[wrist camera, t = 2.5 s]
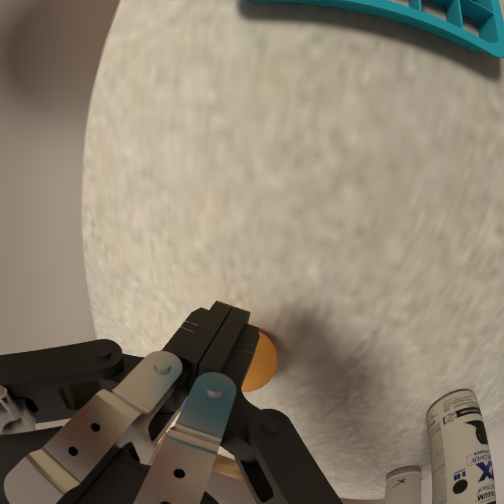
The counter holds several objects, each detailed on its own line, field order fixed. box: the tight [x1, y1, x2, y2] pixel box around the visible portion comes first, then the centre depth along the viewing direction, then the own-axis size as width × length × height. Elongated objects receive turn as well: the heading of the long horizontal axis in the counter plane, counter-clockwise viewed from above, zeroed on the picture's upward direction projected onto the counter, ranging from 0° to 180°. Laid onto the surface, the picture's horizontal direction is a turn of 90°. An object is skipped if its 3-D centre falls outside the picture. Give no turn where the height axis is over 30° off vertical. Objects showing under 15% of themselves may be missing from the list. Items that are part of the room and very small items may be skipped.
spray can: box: [427, 389, 496, 504], centre depth 12 cm, size 7×7×20 cm
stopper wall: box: [159, 433, 246, 482], centre depth 36 cm, size 20×2×3 cm, turn 78°
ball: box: [241, 332, 278, 392], centre depth 21 cm, size 6×6×6 cm
